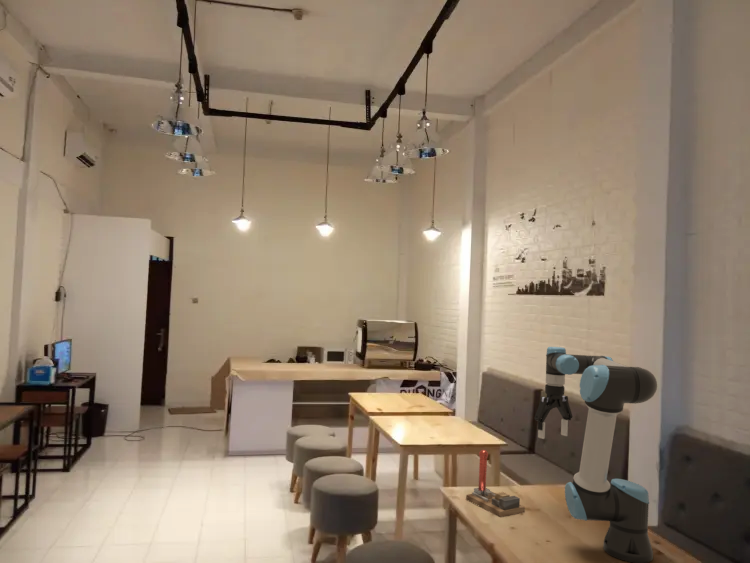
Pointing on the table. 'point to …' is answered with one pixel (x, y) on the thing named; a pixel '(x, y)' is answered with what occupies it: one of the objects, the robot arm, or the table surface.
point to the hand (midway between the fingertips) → (552, 436)
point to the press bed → (498, 504)
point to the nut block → (501, 495)
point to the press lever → (483, 476)
